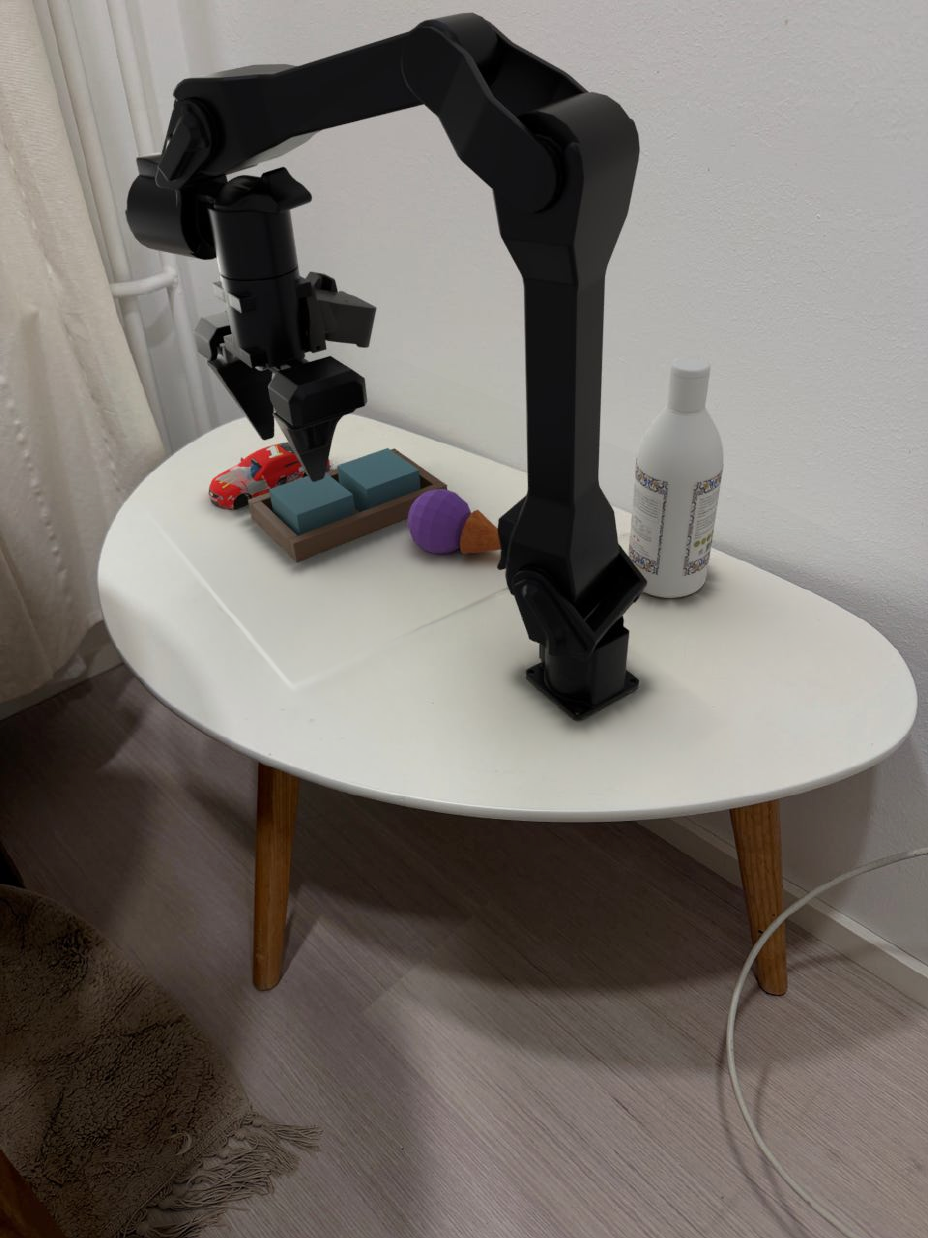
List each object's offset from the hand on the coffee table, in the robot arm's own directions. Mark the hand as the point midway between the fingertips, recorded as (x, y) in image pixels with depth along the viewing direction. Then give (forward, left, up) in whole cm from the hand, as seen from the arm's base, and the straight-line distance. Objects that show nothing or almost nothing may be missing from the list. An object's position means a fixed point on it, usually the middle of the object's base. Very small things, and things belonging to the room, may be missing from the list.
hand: (291, 458), depth 77 cm
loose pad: (+7, -4, -11) cm, 14 cm away
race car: (+17, -4, -12) cm, 21 cm away
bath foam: (-20, -25, -12) cm, 34 cm away
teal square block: (+7, -12, -11) cm, 18 cm away
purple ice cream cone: (-10, -15, -12) cm, 22 cm away
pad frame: (+7, -8, -12) cm, 16 cm away
